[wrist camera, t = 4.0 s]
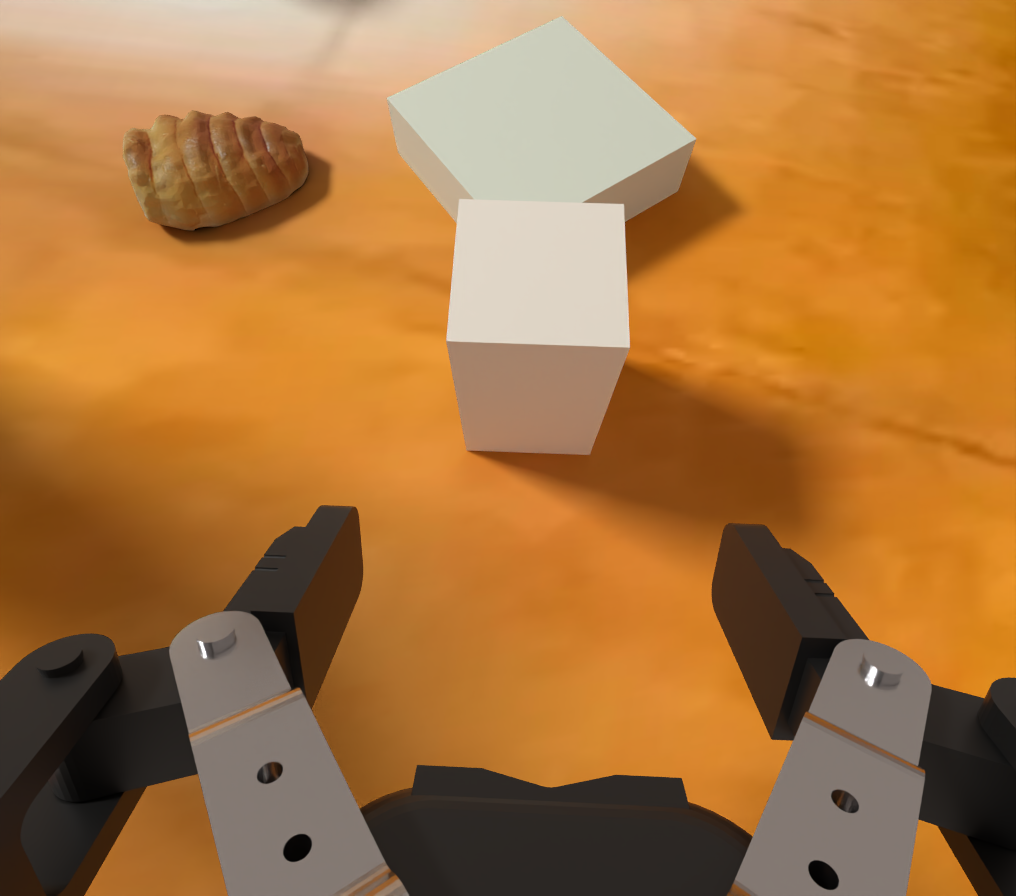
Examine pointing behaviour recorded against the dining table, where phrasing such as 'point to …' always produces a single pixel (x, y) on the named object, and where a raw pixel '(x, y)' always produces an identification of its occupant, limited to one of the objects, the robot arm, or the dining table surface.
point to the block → (540, 128)
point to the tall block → (537, 322)
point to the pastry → (212, 168)
